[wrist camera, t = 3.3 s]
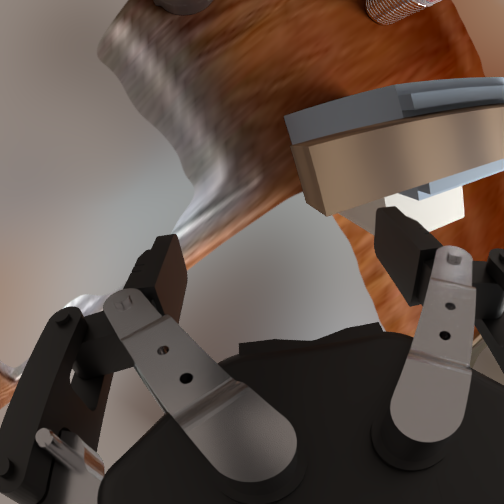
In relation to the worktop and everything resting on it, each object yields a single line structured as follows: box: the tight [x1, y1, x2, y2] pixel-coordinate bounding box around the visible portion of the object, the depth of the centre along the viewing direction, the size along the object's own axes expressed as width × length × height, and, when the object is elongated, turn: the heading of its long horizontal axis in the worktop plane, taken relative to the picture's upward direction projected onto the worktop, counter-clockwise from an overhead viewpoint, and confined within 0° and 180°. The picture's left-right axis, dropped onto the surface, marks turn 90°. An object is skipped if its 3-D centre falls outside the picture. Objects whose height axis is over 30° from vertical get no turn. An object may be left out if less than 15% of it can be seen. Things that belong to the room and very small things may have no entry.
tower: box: [284, 77, 504, 201], centre depth 32 cm, size 13×8×34 cm, turn 108°
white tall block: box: [339, 186, 464, 236], centre depth 40 cm, size 11×8×23 cm
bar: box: [290, 103, 504, 216], centre depth 16 cm, size 21×4×4 cm, turn 108°
